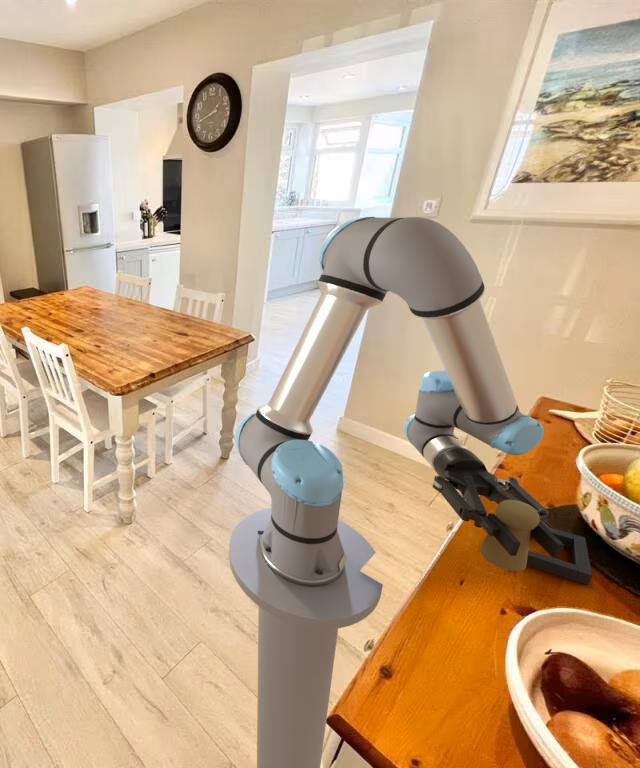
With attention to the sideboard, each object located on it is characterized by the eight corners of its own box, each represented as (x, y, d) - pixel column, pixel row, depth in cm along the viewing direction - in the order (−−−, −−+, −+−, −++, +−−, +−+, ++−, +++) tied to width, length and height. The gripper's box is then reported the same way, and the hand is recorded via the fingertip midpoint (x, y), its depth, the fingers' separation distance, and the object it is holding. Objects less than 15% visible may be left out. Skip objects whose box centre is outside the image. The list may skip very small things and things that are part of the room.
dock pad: (506, 558, 72) (509, 549, 72) (507, 524, 79) (509, 516, 78) (588, 585, 66) (592, 575, 65) (581, 546, 73) (585, 537, 72)
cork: (474, 555, 70) (489, 506, 65) (486, 538, 73) (501, 489, 69) (520, 577, 65) (540, 525, 61) (531, 557, 68) (550, 506, 64)
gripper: (500, 478, 82) (599, 572, 61) (402, 476, 86) (464, 564, 65) (509, 447, 79) (617, 534, 58) (408, 446, 83) (475, 528, 62)
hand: (536, 550), depth 62 cm, fingers closed on cork, 5 cm apart
